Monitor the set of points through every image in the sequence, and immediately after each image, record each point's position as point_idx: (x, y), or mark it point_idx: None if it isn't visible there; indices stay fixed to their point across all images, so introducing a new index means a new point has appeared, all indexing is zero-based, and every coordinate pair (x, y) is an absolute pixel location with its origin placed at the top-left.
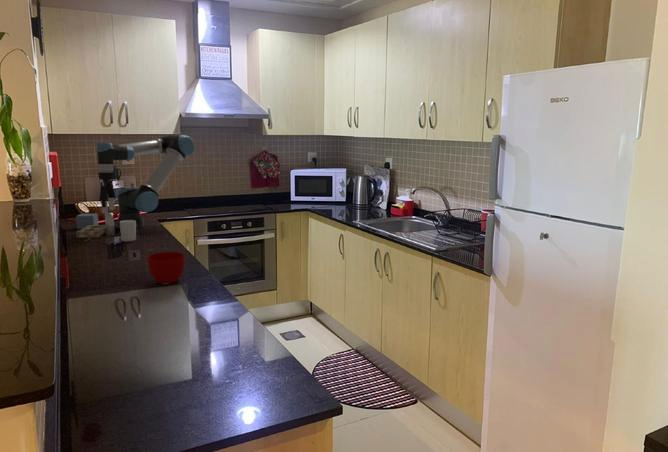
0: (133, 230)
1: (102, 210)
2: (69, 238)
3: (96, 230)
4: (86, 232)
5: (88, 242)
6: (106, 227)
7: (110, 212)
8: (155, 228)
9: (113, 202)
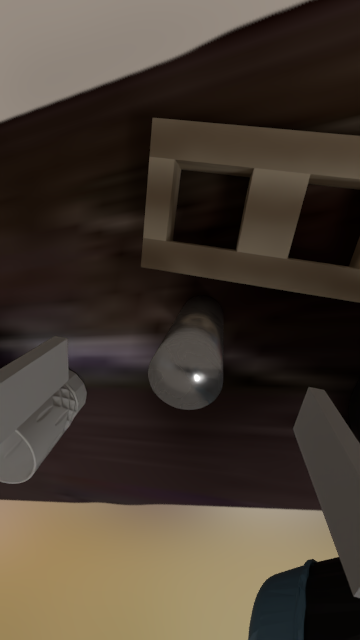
0: (15, 435)
1: (37, 353)
2: (145, 91)
3: (182, 251)
4: (148, 195)
5: (30, 233)
6: (180, 313)
7: (221, 387)
8: (312, 495)
9: (322, 504)
